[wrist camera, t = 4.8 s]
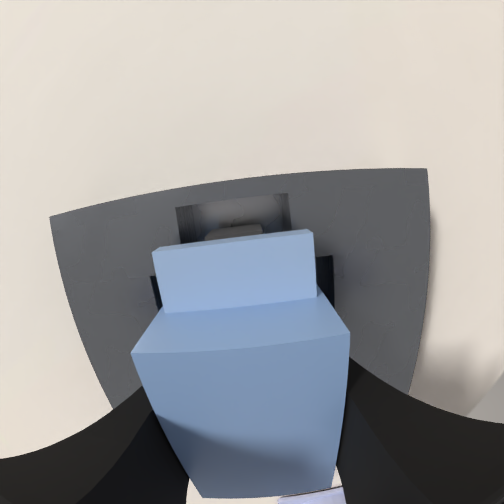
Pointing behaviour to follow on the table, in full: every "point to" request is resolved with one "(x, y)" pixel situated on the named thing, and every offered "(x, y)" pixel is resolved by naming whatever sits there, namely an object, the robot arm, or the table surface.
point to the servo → (246, 363)
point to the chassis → (271, 220)
